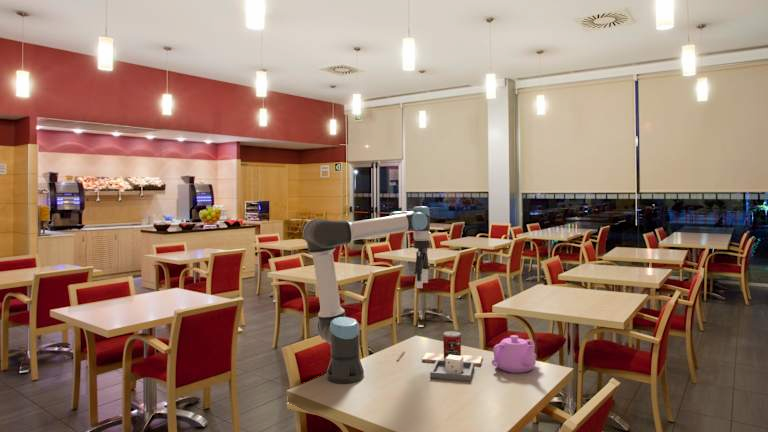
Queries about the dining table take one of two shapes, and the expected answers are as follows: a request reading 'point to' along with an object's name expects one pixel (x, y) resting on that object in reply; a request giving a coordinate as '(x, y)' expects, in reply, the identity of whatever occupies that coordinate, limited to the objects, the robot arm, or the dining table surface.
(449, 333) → the canned food
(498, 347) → the teapot
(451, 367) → the cream cube
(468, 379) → the dice tray
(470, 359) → the board
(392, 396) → the dining table surface
